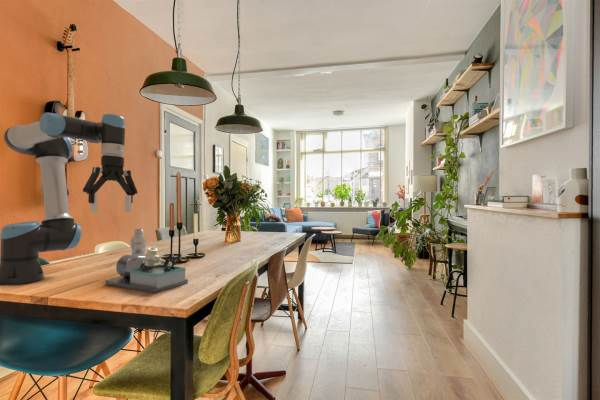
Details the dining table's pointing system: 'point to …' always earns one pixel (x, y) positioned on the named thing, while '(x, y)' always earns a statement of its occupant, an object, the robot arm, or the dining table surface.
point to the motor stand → (146, 275)
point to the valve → (158, 259)
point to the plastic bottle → (138, 243)
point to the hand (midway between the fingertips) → (111, 212)
